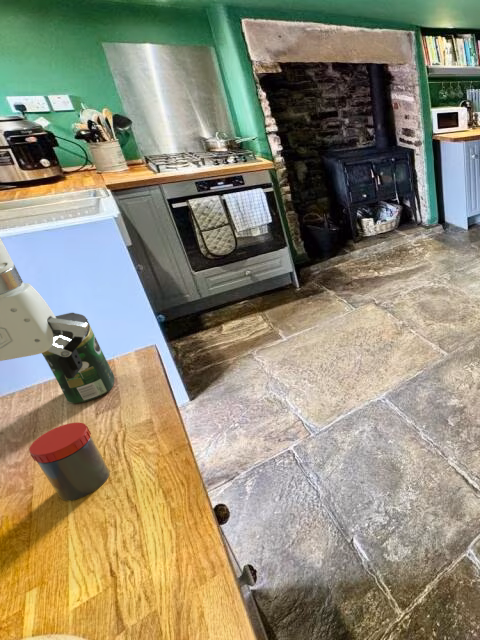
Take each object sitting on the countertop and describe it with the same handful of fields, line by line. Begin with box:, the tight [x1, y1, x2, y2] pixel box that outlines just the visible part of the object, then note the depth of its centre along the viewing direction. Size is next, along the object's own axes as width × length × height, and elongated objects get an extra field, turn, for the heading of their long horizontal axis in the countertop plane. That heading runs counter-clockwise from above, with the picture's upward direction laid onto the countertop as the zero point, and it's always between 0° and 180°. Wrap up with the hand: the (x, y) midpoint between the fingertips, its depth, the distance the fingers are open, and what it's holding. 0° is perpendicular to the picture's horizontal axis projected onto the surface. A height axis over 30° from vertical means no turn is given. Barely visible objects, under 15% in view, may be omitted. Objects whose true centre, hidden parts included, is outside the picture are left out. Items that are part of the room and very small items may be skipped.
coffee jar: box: [41, 312, 115, 404], centre depth 88 cm, size 10×8×19 cm
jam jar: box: [36, 435, 111, 502], centre depth 69 cm, size 6×6×11 cm
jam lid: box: [28, 422, 92, 463], centre depth 67 cm, size 7×7×2 cm
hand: (33, 381), depth 63 cm, fingers open, 9 cm apart
